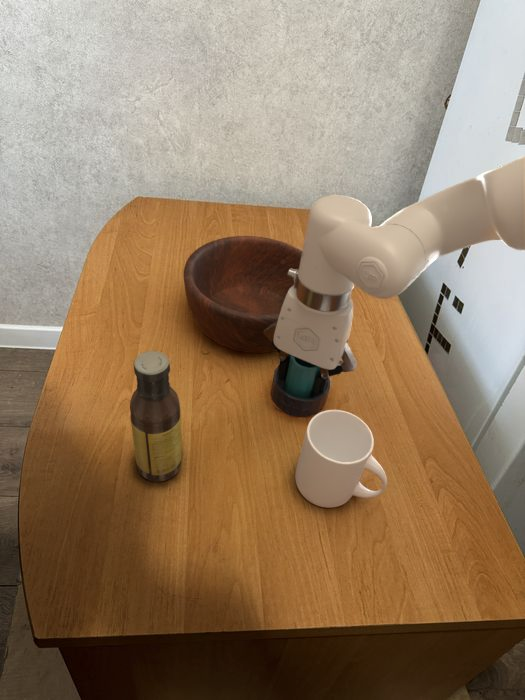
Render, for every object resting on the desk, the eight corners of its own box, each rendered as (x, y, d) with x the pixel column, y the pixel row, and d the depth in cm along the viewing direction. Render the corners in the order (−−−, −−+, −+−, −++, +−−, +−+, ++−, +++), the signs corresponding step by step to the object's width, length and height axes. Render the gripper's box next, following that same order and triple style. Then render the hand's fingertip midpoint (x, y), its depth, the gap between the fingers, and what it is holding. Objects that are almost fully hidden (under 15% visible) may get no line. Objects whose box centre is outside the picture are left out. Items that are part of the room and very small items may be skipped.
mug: (362, 535, 69) (384, 490, 62) (282, 489, 73) (295, 441, 65) (385, 487, 75) (408, 441, 68) (310, 447, 78) (324, 399, 71)
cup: (318, 389, 86) (328, 354, 80) (306, 410, 82) (316, 374, 77) (290, 377, 87) (298, 342, 82) (277, 397, 84) (285, 361, 78)
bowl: (333, 391, 87) (338, 372, 84) (312, 428, 81) (317, 409, 78) (284, 370, 90) (288, 351, 87) (260, 404, 84) (263, 385, 80)
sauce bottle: (188, 453, 75) (191, 352, 62) (171, 489, 71) (170, 389, 57) (146, 440, 76) (140, 338, 63) (126, 476, 72) (115, 373, 58)
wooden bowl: (232, 385, 86) (237, 338, 79) (158, 300, 100) (157, 254, 93) (343, 335, 98) (356, 291, 91) (264, 266, 112) (270, 223, 105)
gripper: (254, 280, 70) (242, 375, 83) (375, 327, 66) (343, 420, 78) (278, 255, 75) (263, 348, 88) (392, 297, 71) (359, 389, 83)
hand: (301, 381), depth 83 cm, fingers closed on cup, 5 cm apart
